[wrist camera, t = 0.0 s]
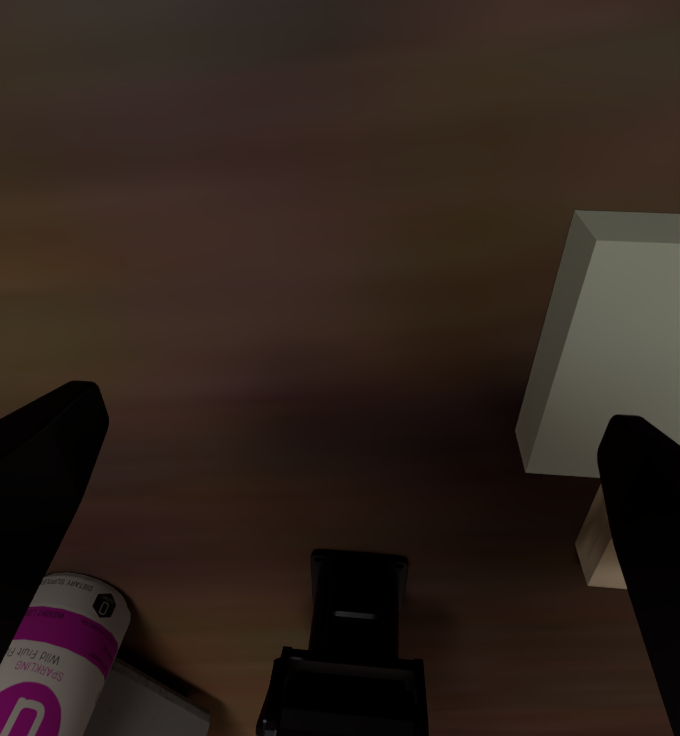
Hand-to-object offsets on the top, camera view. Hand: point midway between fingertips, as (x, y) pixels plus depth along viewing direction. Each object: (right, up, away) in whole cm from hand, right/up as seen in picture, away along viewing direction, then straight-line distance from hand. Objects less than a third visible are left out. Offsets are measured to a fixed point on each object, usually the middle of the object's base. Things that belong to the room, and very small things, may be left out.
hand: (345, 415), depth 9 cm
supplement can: (-21, -17, +34) cm, 43 cm away
